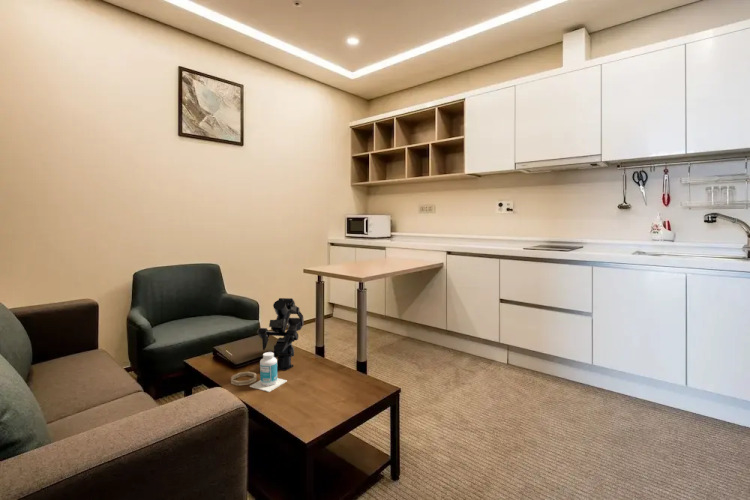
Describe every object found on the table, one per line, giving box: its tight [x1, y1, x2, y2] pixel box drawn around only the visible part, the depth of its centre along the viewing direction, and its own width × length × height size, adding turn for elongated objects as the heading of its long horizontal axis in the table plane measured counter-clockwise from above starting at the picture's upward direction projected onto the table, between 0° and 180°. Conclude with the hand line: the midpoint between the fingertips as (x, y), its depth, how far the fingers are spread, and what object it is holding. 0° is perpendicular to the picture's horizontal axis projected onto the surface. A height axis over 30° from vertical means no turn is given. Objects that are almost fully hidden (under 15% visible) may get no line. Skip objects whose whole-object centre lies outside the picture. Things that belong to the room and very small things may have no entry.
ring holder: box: [230, 371, 258, 387], centre depth 171 cm, size 11×11×2 cm
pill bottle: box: [259, 351, 278, 386], centre depth 167 cm, size 8×7×14 cm
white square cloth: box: [249, 377, 288, 393], centre depth 167 cm, size 12×11×1 cm
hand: (272, 350), depth 171 cm, fingers open, 9 cm apart
